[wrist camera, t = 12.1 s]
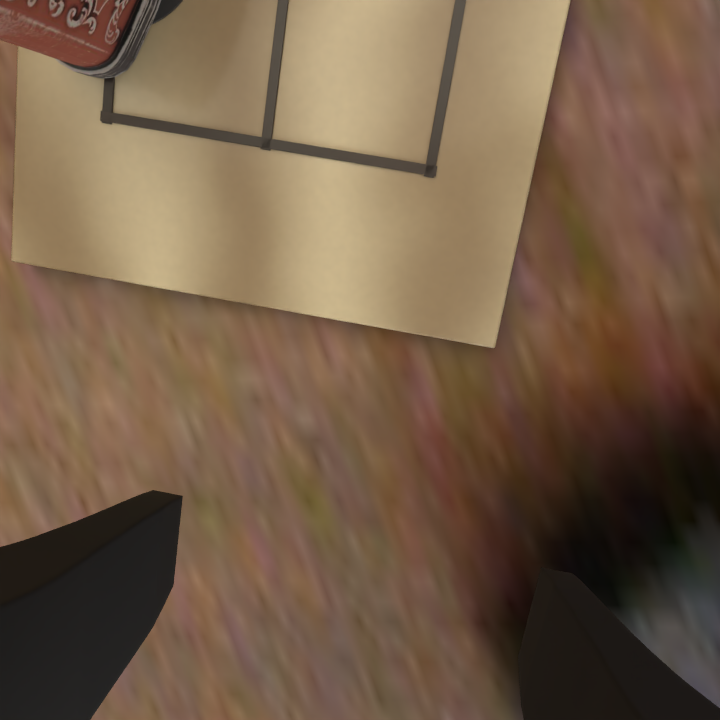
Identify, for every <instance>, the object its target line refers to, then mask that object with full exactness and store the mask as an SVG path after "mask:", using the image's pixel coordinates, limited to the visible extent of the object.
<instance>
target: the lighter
mask: <svg viewBox="0 0 720 720" xmlns="http://www.w3.org/2000/svg"><path fill="white" fill-rule="evenodd" d="M160 2H161V0H0V40H2V41H5V42H8V43H11V44H14V45H17V46H20V47H23V48H26V49H29V50H32V51H35V52H38V53H41V54H44V55H47V56H49V57H52V58H55V59H56V60H57V61H58V62H59V63H60V64H61V65H63V66H65V67H67V68H69V69H70V70H72V71H74V72H77V73H81V74H84V75H87V76H91V77H96V78H101V79H104V78H111V77H116V76H118V75H120V74H122V73H123V72H125V71H127V70H128V69H129V67H130V66H131V65H132V63H133V62H134V61H135V59H136V57H137V55H138V53H139V50H140V48H141V46H142V44H143V42H144V39H145V37H146V35H147V33H148V31H149V29H150V26H151V24H152V22H153V20H154V18H155V15H156V13H157V11H158V8H159V5H160Z"/></svg>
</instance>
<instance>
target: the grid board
mask: <svg viewBox="0 0 720 720" xmlns="http://www.w3.org/2000/svg"><path fill="white" fill-rule="evenodd" d="M570 1H571V0H161V2H160V5H159V8H158V11H157V13H156V15H155V18H154V20H153V22H152V24H151V26H150V29H149V31H148V33H147V35H146V37H145V39H144V42H143V44H142V46H141V48H140V50H139V53H138V55H137V57H136V59H135V61H134V62H133V63H132V65H131V66H130V67H129V69H128V70H127V71H125V72H123V73H122V74H120V75H118V76H116V77H111V78H104V79H101V78H96V77H91V76H87V75H84V74H81V73H77V72H74V71H72V70H70V69H69V68H67V67H65V66H63V65H61V64H60V63H59V62H58V61H57V60H56V59H55V58H52V57H49V56H47V55H44V54H41V53H38V52H35V51H32V50H29V49H26V48H23V47H20V46H18V56H17V89H16V121H15V154H14V187H13V220H12V253H11V260H12V261H13V262H18V263H23V264H29V265H34V266H40V267H45V268H51V269H56V270H62V271H67V272H73V273H79V274H84V275H90V276H95V277H101V278H106V279H112V280H117V281H123V282H128V283H134V284H140V285H145V286H151V287H156V288H162V289H167V290H173V291H178V292H184V293H189V294H195V295H201V296H206V297H212V298H217V299H223V300H228V301H234V302H239V303H245V304H250V305H256V306H262V307H267V308H273V309H278V310H284V311H289V312H295V313H300V314H306V315H312V316H317V317H323V318H328V319H334V320H339V321H345V322H350V323H356V324H361V325H367V326H373V327H378V328H384V329H389V330H395V331H400V332H406V333H411V334H417V335H422V336H428V337H434V338H439V339H445V340H450V341H456V342H461V343H467V344H472V345H478V346H483V347H489V348H494V347H495V345H496V341H497V336H498V331H499V327H500V322H501V318H502V313H503V309H504V304H505V299H506V295H507V290H508V286H509V281H510V276H511V272H512V267H513V263H514V258H515V254H516V249H517V244H518V240H519V235H520V231H521V226H522V221H523V217H524V212H525V208H526V203H527V199H528V194H529V189H530V185H531V180H532V176H533V171H534V166H535V162H536V157H537V153H538V148H539V144H540V139H541V134H542V130H543V125H544V121H545V116H546V111H547V107H548V102H549V98H550V93H551V88H552V84H553V79H554V75H555V70H556V66H557V61H558V56H559V52H560V47H561V43H562V38H563V33H564V29H565V24H566V20H567V15H568V11H569V6H570Z"/></svg>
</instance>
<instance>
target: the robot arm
mask: <svg viewBox="0 0 720 720" xmlns="http://www.w3.org/2000/svg"><path fill="white" fill-rule="evenodd" d="M182 497H183V496H180V495H175V494H170V493H165V492H160V491H155V490H153V491H149V492H146V493H143V494H141V495H138V496H136V497H133V498H131V499H128V500H126V501H124V502H121V503H119V504H117V505H114V506H112V507H110V508H107V509H105V510H102V511H100V512H98V513H95V514H93V515H91V516H88V517H86V518H83V519H81V520H78V521H76V522H73V523H71V524H68V525H65V526H62V527H60V528H57V529H54V530H52V531H49V532H46V533H43V534H41V535H38V536H35V537H32V538H29V539H26V540H23V541H20V542H17V543H13V544H10V545H6V546H3V547H0V720H90V719H91V718H92V716H93V715H94V713H95V712H96V710H97V709H98V707H99V706H100V704H101V703H102V701H103V700H104V699H105V697H106V696H107V694H108V693H109V691H110V690H111V688H112V687H113V685H114V684H115V682H116V681H117V680H118V678H119V677H120V675H121V674H122V672H123V671H124V669H125V668H126V666H127V665H128V663H129V662H130V661H131V659H132V658H133V656H134V655H135V653H136V652H137V650H138V649H139V647H140V646H141V644H142V643H143V641H144V640H145V638H146V637H147V635H148V634H149V632H150V631H151V629H152V628H153V626H154V624H155V622H156V620H157V618H158V616H159V614H160V612H161V610H162V608H163V606H164V604H165V602H166V600H167V598H168V596H169V593H170V591H171V589H172V587H173V584H174V574H175V564H176V555H177V545H178V535H179V526H180V516H181V506H182ZM518 664H519V683H520V696H521V707H522V712H523V717H524V720H720V708H719V707H717V706H716V705H715V704H713V703H712V702H711V701H710V700H708V699H707V698H706V697H704V696H703V695H702V694H700V693H699V692H698V691H697V690H695V689H694V688H693V687H691V686H690V685H689V684H688V683H686V682H685V681H684V680H683V679H682V678H680V677H679V676H678V675H677V674H676V673H675V672H673V671H672V670H671V669H670V668H669V667H668V666H667V665H666V664H664V663H663V662H662V661H661V660H660V659H659V658H658V657H657V656H656V655H654V654H653V653H652V652H651V651H650V650H649V649H648V648H647V647H646V646H645V645H644V644H643V643H642V642H641V641H640V640H639V639H637V638H636V637H635V636H634V635H633V634H632V633H631V632H630V631H629V630H628V629H627V628H626V627H625V626H624V625H623V624H622V623H621V622H620V621H619V620H618V619H617V617H616V616H615V615H614V614H613V613H612V612H611V611H610V610H609V609H608V608H607V607H606V606H605V605H604V604H603V603H602V602H601V601H600V600H599V599H598V598H597V597H596V596H595V595H594V594H593V593H592V592H591V591H590V590H589V589H588V588H587V586H585V585H584V584H583V583H582V582H581V581H580V580H579V579H578V578H577V577H576V576H575V575H574V574H572V573H566V572H561V571H556V570H551V569H546V568H541V570H540V574H539V578H538V582H537V586H536V589H535V593H534V597H533V601H532V605H531V609H530V613H529V617H528V621H527V624H526V628H525V632H524V636H523V640H522V644H521V648H520V652H519V655H518Z"/></svg>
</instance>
